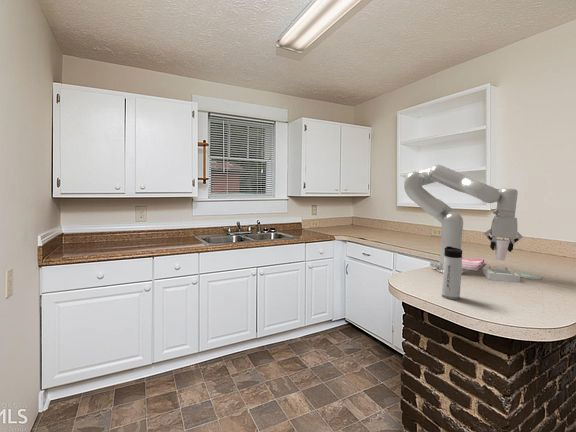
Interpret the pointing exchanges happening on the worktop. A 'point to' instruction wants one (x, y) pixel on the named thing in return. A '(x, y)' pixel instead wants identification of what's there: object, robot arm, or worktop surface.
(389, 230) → the worktop surface
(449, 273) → the travel mug
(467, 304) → the worktop surface
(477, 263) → the dish towel
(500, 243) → the smoothie
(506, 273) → the socket block
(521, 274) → the coaster
